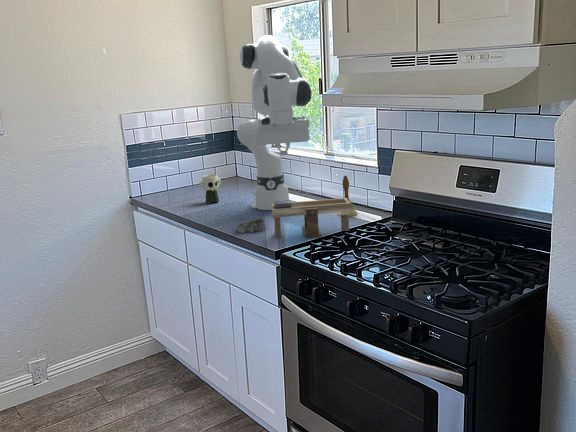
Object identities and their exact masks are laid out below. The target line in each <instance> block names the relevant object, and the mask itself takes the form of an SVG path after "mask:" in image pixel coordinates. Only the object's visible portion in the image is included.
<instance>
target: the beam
mask: <svg viewBox="0 0 576 432" xmlns="http://www.w3.org/2000/svg"><path fill="white" fill-rule="evenodd" d="M291 206H292V207H291V208H280V209H275V206H274V204H272V210H271V214H272V218H273V219H274V218H277V217H280V218H286V217H298V216H300V217H301V216H304V215H306V209H308V208H317V209H318V215H322V214H331V213H338V212H346V211H350V202H349V201H348V200H347V198H345V197H340V198H339V197H338V198H328V199H327V198H326V199H316V200H306V201H292V202H291Z"/></svg>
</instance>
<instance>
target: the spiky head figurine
mask: <svg viewBox="0 0 576 432" xmlns="http://www.w3.org/2000/svg"><path fill="white" fill-rule="evenodd" d="M201 178H202V180H201V181H200V182H199V187H200V189H203V190H205V191H206V192H205V203H207V202H215V201H216V202H215V203H218V202H217V201H220V198H219V194H218V191H217V189H218V188H219V185H221V184H222V181H221V177H218V175H217V174H205V175H202V177H201Z"/></svg>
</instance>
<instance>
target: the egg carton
mask: <svg viewBox="0 0 576 432" xmlns="http://www.w3.org/2000/svg"><path fill="white" fill-rule="evenodd" d="M264 221H265V220H264V218H263V216H259V217H255V218H254V219H252V220H248V221H242V222H237V223H236V225H237V230H238V231H237V232H238V233H241V234H242V233H246V232H250V233H253V232H255V231H258V232H262V231H264V230H265V229H266V228H265V226H266V225H265V222H264Z"/></svg>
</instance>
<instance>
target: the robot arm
mask: <svg viewBox="0 0 576 432" xmlns="http://www.w3.org/2000/svg"><path fill="white" fill-rule="evenodd" d="M239 62H240V63H241V66H242V67H243V68H245V69H247V70H251V69H253V70H254V72H253V74H252V80H251V98H252V99H251V100H252V107H253V110H254V111H255V112H256V113H257V114H260V115H262V116H260V117H259V118H257V119H255V118H254V119H249V120H245V121H242V122H240V123H239V124H238V126H237V130H236V135H237V139H238V140H239V142H240V143H241V144H242V145H243V146H245V147H246V148H248V149H249V150H250V151H251V153H252V155H253V156H254V160H255V164H256V171H257V176H256V182H257V183H256V184H257V186H256V187H255V189H254V195H253V196H254V202H253V203H252V204H251V207H252V208H251V209H256V208H257V210H263V211H272V204H274V201H283V200H290V197H289V195H290V194H289V188H288V186H287V185H286V184H285V176H284V175H285V174H284V173H283V160H282V157H281V156H287V155H288V151H289V149H290V147H291V143H303V142H304V143H305V142H308V141H309V140H311V139H310V130H309V128H310V123H311V122H310V120H309V118H308V117H306V116H294V112H293V107H305V106H307V105H308V104H309V103H310V101H311V100H312V96H313V94H312V87H311V84H310V83H309V82H308V80H306V78H305V77H304V75H303V73H302V71H301V70H300V68H299V66H298V65H297V63H296V61H295V60H294V59H292V57H291V52H290V49H289V47H288V46H287V45H284V44H280V41H279V40H278V39H277V38H276V37H275V36H273V35H270V34H269V35H268V34H266V35H264V36H261V37H260V38H259V39H258V41H257V43H247V44H244V45H243V46H242V47H241V50H240V52H239ZM281 144H285V145H286V148H285V149H281ZM267 145H276V148H277V150H278V151H279V154H278V153H276V152H275V151H272V150H270V149H268V147H267ZM291 202H293V200H291Z"/></svg>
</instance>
